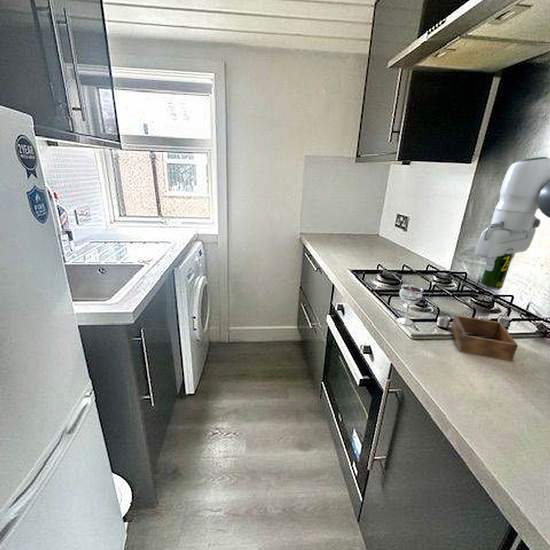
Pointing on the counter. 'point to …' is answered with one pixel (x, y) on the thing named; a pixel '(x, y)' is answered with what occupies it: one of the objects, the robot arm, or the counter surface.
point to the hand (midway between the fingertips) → (496, 268)
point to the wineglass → (409, 299)
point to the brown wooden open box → (496, 348)
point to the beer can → (497, 272)
